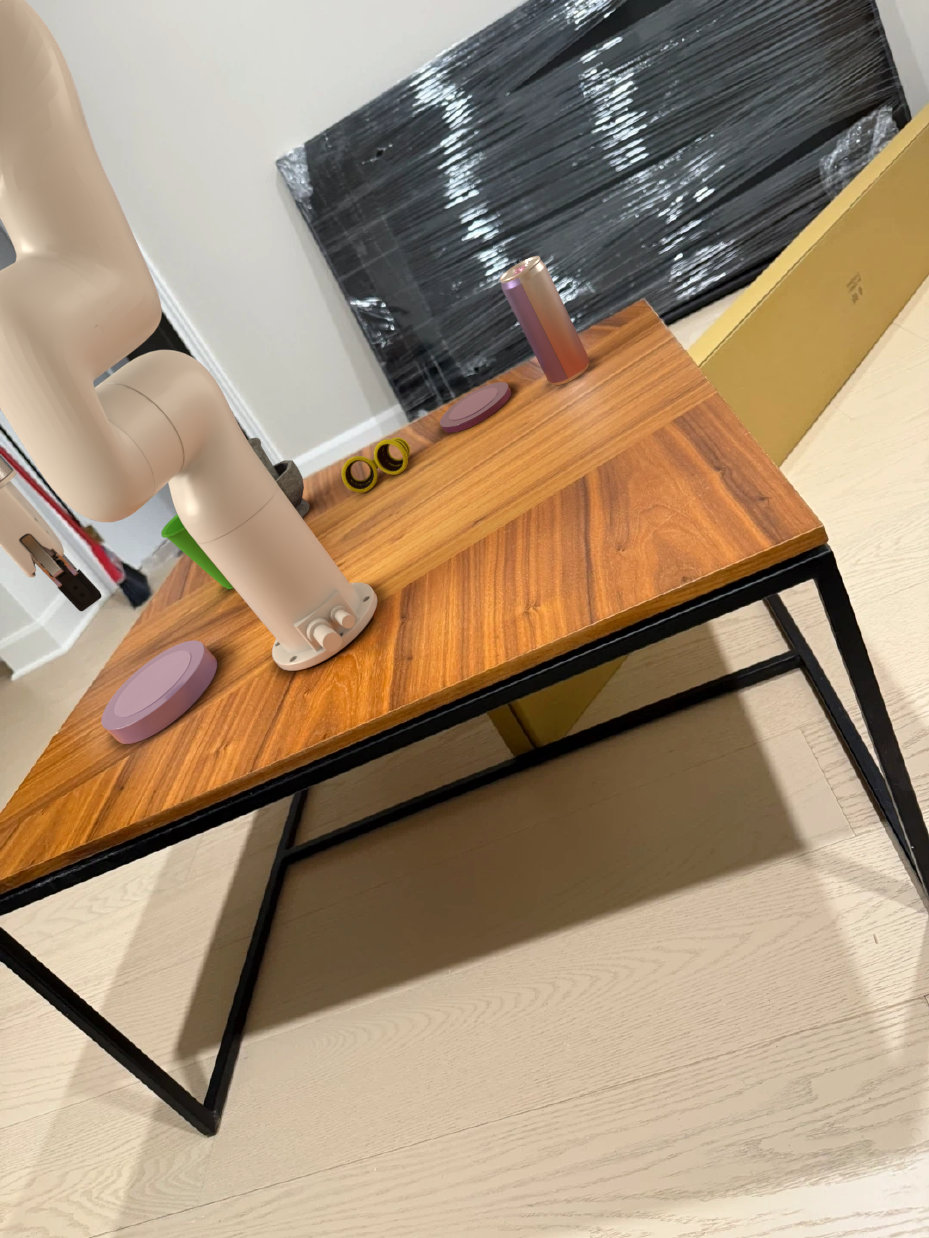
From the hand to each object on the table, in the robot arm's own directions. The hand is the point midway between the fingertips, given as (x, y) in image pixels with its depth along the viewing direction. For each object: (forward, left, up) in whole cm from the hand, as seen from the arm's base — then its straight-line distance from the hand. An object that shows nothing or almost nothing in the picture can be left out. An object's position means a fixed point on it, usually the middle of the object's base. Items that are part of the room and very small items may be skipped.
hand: (91, 602), depth 103 cm
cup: (+4, -16, -11) cm, 20 cm away
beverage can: (-14, -65, -11) cm, 68 cm away
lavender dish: (-14, 0, -10) cm, 18 cm away
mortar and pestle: (+12, -28, -11) cm, 32 cm away
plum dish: (-2, -56, -10) cm, 57 cm away
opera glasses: (0, -40, -11) cm, 42 cm away
